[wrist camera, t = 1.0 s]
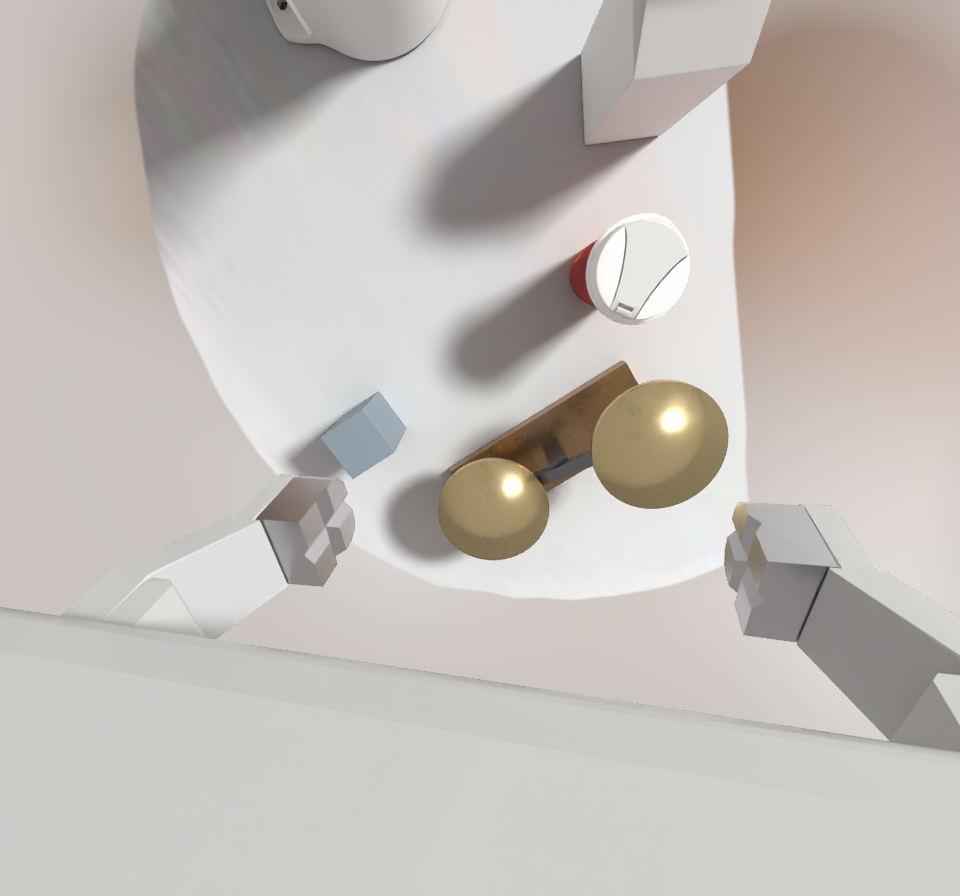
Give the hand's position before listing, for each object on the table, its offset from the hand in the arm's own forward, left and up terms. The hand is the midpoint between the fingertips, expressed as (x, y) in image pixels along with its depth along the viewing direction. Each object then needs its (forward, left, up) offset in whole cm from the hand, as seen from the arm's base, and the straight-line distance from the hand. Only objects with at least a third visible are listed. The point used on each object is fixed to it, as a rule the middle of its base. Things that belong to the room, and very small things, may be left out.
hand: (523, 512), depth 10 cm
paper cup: (+1, +12, -42) cm, 43 cm away
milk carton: (-11, +21, -42) cm, 48 cm away
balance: (+14, -1, -41) cm, 44 cm away
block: (+1, -16, -41) cm, 44 cm away
